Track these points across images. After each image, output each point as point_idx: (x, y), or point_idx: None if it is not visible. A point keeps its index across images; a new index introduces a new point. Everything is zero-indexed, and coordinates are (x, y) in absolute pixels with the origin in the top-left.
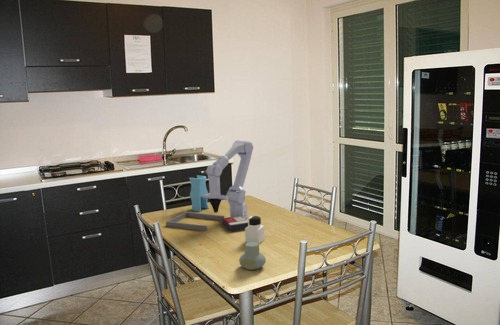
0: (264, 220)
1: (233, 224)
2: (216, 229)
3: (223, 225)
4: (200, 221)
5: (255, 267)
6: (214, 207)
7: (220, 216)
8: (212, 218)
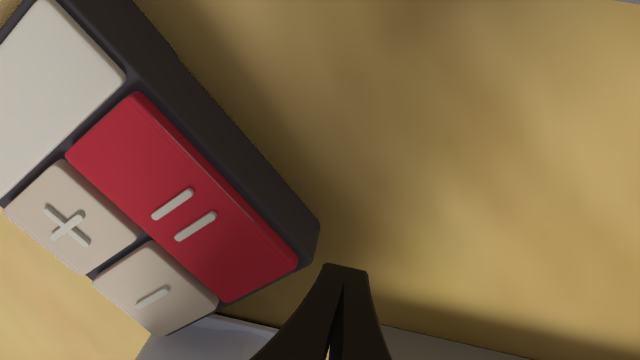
0: (19, 324)
1: (19, 23)
2: (310, 34)
3: (280, 178)
4: (593, 288)
5: None
6: (340, 338)
7: None
8: (465, 351)
